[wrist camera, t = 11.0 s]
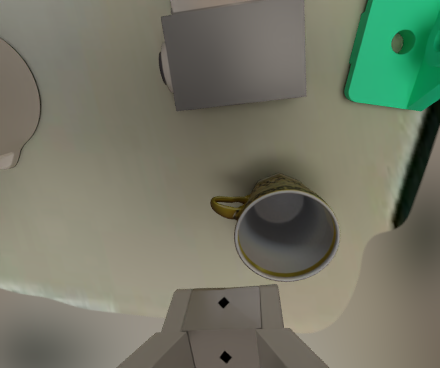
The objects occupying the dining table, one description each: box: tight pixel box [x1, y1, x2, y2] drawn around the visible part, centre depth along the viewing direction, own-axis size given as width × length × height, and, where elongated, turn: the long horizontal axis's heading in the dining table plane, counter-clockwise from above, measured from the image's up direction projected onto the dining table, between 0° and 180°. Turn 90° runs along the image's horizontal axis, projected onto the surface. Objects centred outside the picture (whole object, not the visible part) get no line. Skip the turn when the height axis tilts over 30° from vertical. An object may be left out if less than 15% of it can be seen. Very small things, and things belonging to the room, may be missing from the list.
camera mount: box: [344, 0, 440, 111], centre depth 27 cm, size 12×8×10 cm, turn 173°
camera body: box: [159, 0, 306, 111], centre depth 30 cm, size 13×8×7 cm, turn 97°
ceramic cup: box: [210, 173, 340, 282], centre depth 34 cm, size 13×10×10 cm
